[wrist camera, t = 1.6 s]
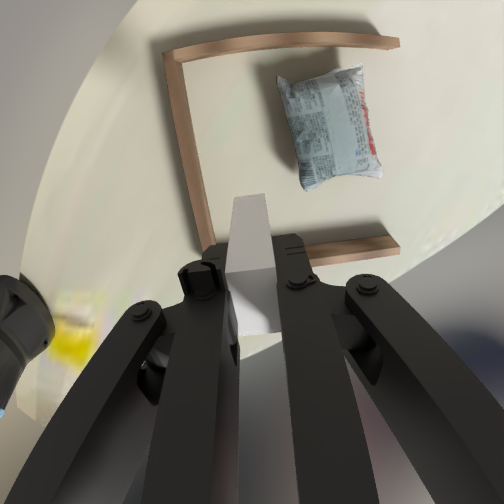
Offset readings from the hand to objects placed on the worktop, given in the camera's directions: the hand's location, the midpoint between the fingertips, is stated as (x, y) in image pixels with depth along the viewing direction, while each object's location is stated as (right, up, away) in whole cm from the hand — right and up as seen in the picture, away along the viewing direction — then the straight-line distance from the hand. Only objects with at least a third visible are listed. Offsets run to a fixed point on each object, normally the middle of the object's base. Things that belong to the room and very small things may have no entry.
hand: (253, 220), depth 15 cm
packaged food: (+10, +9, +15) cm, 20 cm away
